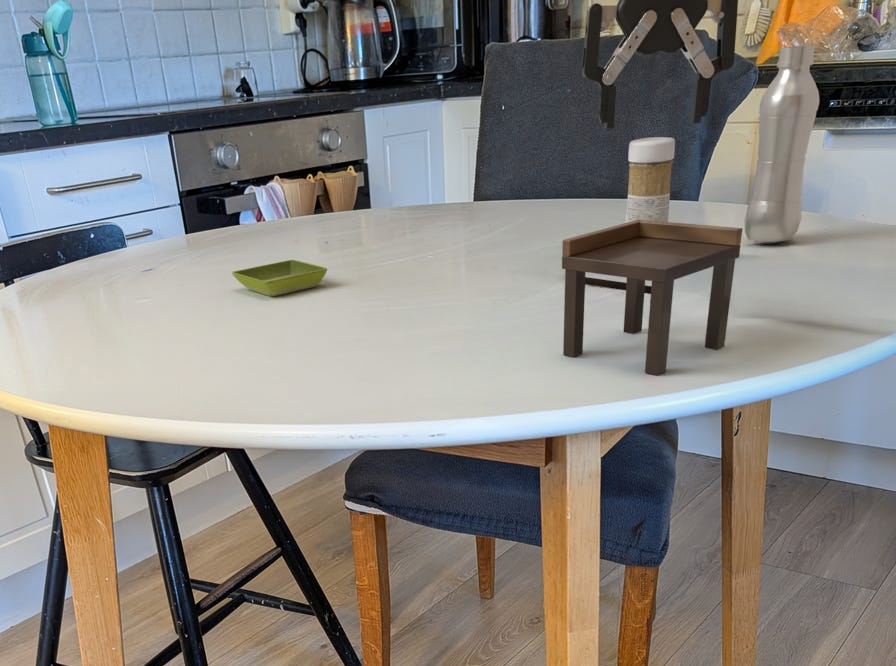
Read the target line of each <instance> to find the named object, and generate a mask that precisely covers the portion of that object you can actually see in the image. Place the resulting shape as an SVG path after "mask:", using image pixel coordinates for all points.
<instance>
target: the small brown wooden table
mask: <svg viewBox="0 0 896 666" xmlns="http://www.w3.org/2000/svg"><path fill="white" fill-rule="evenodd" d="M742 236H743V228H742V227H734V226H733V227H732V226H720V225H710V224H696V223H685V222H673V221H668V222H661V221H649V220H635V221H631V222H627V223H626V222H624V223H620V224H617V225H616V224H615V225H613V226H610V227H605V228H602V229H598V230H595V231H591V232H587V233H584V234H580V235H576V236H573V237H569V238H565V239H562V245H561V246H562V252H561V253H562V254H561V255H562V256H561V269H562V270H564V305H563V308H564V309H563V345H562V346H563V348H562V349H563V350H562V355H563V356H565V357H570V358H576V357H578V356H581V355H583V353H584V351H583V350H584V328H585V327H584V325H585V323H584V322H585V301H586V300H585V297H586V296H585V295H586V285H585V277H586V275H587V274H586V273H591V274H597V275H605V276H612V277H620V278H626V282H625V283H626V290H625V299H624V300H625V302H624V318H623V333H625V332H626V333H625V334H630V333H631V334H630V335H635V333H636V334H638V333H640V332H642V330H643V316H644V304H645V293H644V292H645V285H646V281H649V282H651V285H650V286H651V294H650V298H649V299H650V300H649V301H650V302H649V311H648V312H649V314H648V325H647V326H648V327H647V339H646V340H647V341H646V351H645V352H646V354H645V366H644V373H645V374H649V375H654V376H660V375H661V374H663V373H666V372H667V363H668V362H667V361H668V351H669V340H670V339H669V338H670V328H671V319H672V306H673V298H674V296H673V295H674V285H675V280H679V279H681V278H684V277H687V276H690V275H693V274H695V273H699V272H701V271H704V270H708V269H710V268H713V269H712V279H711V285H710V286H711V287H710V294H709V303H708V314H707V320H706V321H707V322H706V329H705V338H704V348H705V349H711V350H719V349H721V348H724V347H725V344H726V336H727V335H726V334H727V328H728V319H729V312H730V304H731V297H732V289H733V288H732V287H733V280H734V273H735V266H736V265H735V264H736V259H739V258H740V255H741V254H740V252H741V244H742V238H743V237H742Z"/></svg>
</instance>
